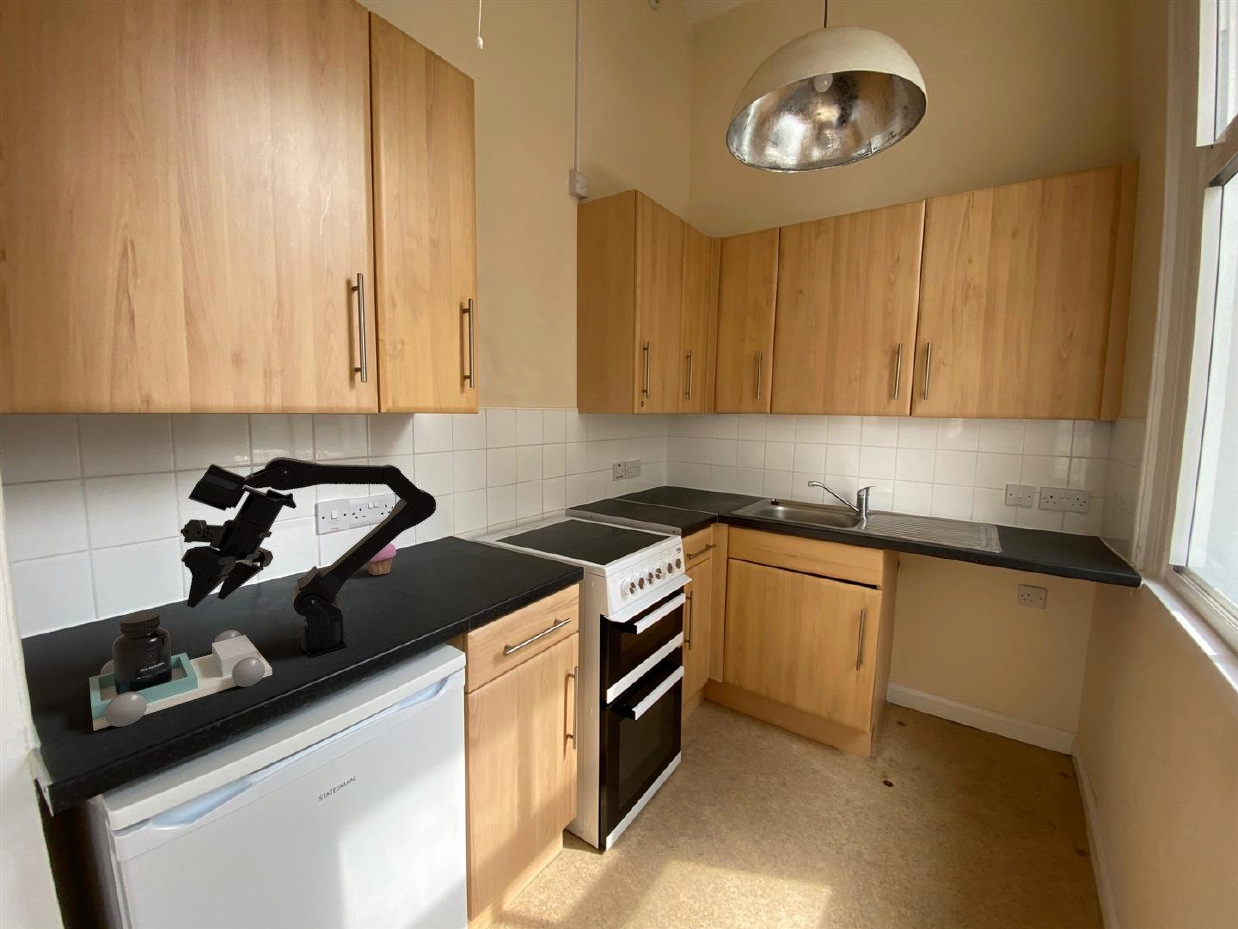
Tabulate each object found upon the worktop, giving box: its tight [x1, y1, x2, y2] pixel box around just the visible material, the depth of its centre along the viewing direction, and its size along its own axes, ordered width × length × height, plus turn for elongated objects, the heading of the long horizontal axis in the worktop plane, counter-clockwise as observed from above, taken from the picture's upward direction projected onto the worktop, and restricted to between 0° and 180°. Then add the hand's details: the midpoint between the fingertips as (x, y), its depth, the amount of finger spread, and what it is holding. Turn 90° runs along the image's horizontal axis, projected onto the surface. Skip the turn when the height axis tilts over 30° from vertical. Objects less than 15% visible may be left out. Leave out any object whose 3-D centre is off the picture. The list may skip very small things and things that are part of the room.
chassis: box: [88, 629, 273, 731], centre depth 86 cm, size 22×17×4 cm
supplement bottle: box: [111, 611, 172, 696], centre depth 82 cm, size 7×7×12 cm
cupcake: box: [366, 542, 397, 576], centre depth 145 cm, size 9×9×10 cm
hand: (206, 602), depth 89 cm, fingers open, 9 cm apart
